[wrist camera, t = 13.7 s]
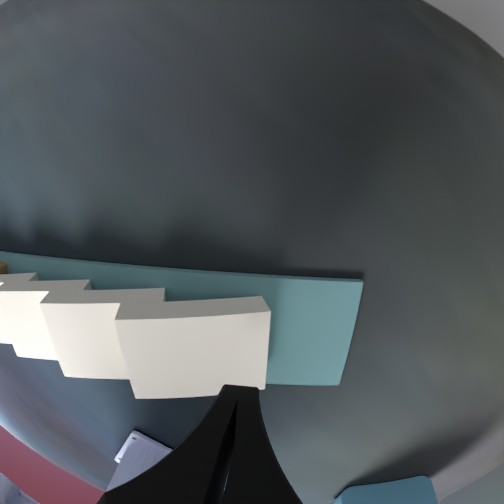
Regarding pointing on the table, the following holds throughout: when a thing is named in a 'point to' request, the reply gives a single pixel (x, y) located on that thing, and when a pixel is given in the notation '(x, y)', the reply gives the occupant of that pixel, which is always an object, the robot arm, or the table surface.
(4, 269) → the ochre domino
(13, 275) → the cream domino
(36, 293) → the cream domino
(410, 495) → the data package
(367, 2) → the table surface
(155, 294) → the cream domino
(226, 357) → the cream domino
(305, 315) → the teal mat
